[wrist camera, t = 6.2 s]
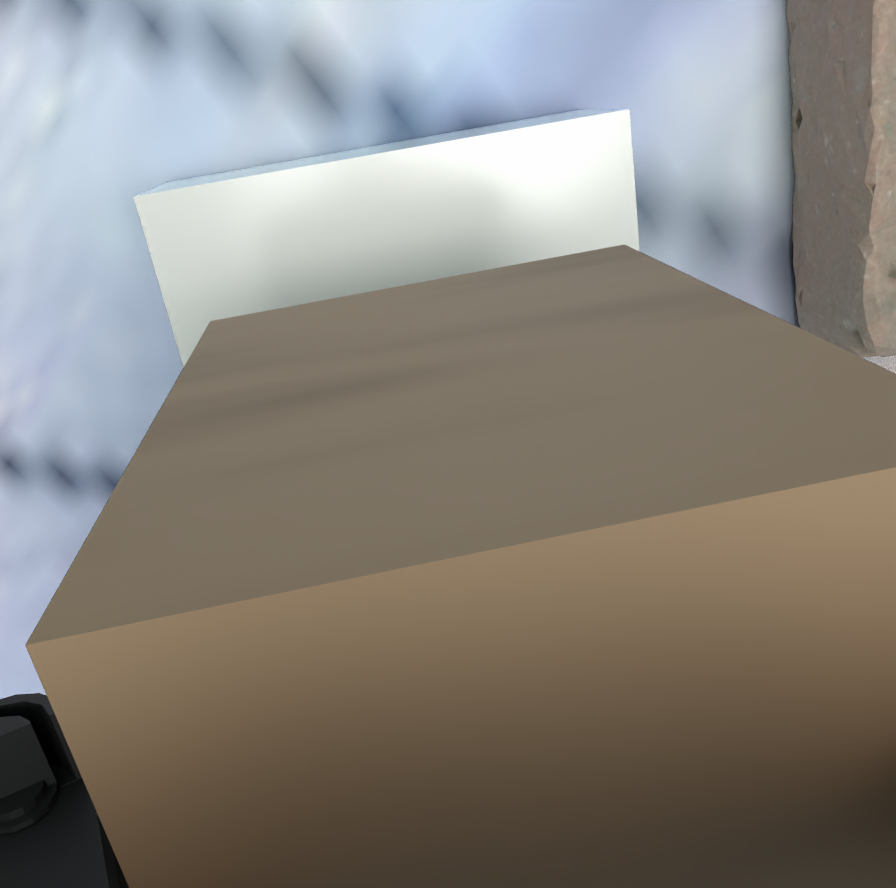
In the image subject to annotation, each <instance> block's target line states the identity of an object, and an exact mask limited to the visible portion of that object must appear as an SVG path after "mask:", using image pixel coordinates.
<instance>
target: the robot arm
mask: <svg viewBox="0 0 896 888" xmlns="http://www.w3.org/2000/svg"><path fill="white" fill-rule="evenodd" d="M0 888H129V886H128V884H127V881H126V879H125V877H124V874H123V872H122V870H121V867H120V865H119V863H118V860H117V858H116V856H115V853H114V851H113V849H112V846H111V844H110V842H109V839H108V837H107V835H106V832H105V830H104V828H103V825H102V823H101V821H100V818H99V816H98V814H97V811H96V809H95V807H94V804H93V802H92V800H91V797H90V795H89V793H88V790H87V788H86V786H85V783H84V781H83V779H82V776H81V774H80V772H79V769H78V767H77V765H76V762H75V760H74V758H73V755H72V753H71V751H70V748H69V746H68V744H67V741H66V739H65V737H64V734H63V732H62V730H61V727H60V725H59V723H58V720H57V718H56V716H55V713H54V711H53V709H52V706H51V704H50V702H49V699H48V697H47V696H46V695H43V694H40V693H36V694H20V695H14V696H10V697H7V698H3V699H0Z"/></svg>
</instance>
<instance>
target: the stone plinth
mask: <svg viewBox="0 0 896 888" xmlns="http://www.w3.org/2000/svg"><path fill="white" fill-rule="evenodd" d="M134 200H135V204H136V207H137V211H138V214H139V218H140V221H141V224H142V228H143V231H144V235H145V238H146V241H147V245H148V248H149V252H150V255H151V259H152V262H153V265H154V269H155V272H156V276H157V279H158V282H159V286H160V289H161V293H162V296H163V299H164V303H165V306H166V310H167V313H168V317H169V320H170V323H171V327H172V330H173V334H174V337H175V340H176V344H177V347H178V351H179V354H180V358H181V361H182V364H183V368H184V366H185V364H186V363H187V361H188V359H189V357H190V355H191V354H192V352H193V350H194V348H195V347H196V345H197V343H198V341H199V340H200V338H201V336H202V334H203V333H204V331H205V329H206V327H207V326H208V324H209V322H210V321H214V320H219V319H225V318H230V317H235V316H241V315H246V314H252V313H257V312H262V311H268V310H273V309H279V308H284V307H289V306H295V305H300V304H306V303H311V302H316V301H322V300H327V299H333V298H338V297H343V296H349V295H354V294H359V293H365V292H370V291H376V290H381V289H386V288H392V287H397V286H403V285H408V284H413V283H419V282H424V281H430V280H435V279H440V278H446V277H451V276H456V275H462V274H467V273H473V272H478V271H483V270H489V269H494V268H500V267H505V266H510V265H516V264H521V263H527V262H532V261H537V260H543V259H548V258H554V257H559V256H564V255H570V254H575V253H580V252H586V251H591V250H597V249H602V248H607V247H613V246H618V245H624V244H625V245H627V246H629V247H631V248H633V249H635V250H637V251H639V252H640V249H639V235H638V221H637V207H636V193H635V179H634V165H633V151H632V137H631V123H630V109H581V110H575V111H569V112H564V113H558V114H552V115H546V116H541V117H535V118H529V119H524V120H518V121H512V122H507V123H501V124H495V125H490V126H484V127H478V128H472V129H467V130H461V131H455V132H450V133H444V134H438V135H433V136H427V137H421V138H416V139H410V140H404V141H398V142H393V143H387V144H381V145H376V146H370V147H364V148H359V149H353V150H347V151H342V152H336V153H330V154H324V155H319V156H313V157H307V158H302V159H296V160H290V161H285V162H279V163H273V164H268V165H262V166H256V167H250V168H245V169H239V170H233V171H228V172H222V173H216V174H211V175H205V176H199V177H194V178H188V179H182V180H176V181H171V182H167V183H164V184H162V185H160V186H157V187H155V188H152V189H150V190H148V191H145V192H143V193H141V194H138V195H136V196H134Z"/></svg>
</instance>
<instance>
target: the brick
mask: <svg viewBox="0 0 896 888" xmlns="http://www.w3.org/2000/svg"><path fill="white" fill-rule="evenodd" d="M786 18H787V23H788V28H789V33H790V44H789V52H788V54H789V69H790V83H791V93H792V97H793V105H792V153H793V160H794V170H795V180H796V183H795V190H794V198H793V247H794V251H793V267H794V273H795V279H796V296H795V299H796V307H797V315H798V322H799V325H800V328H801V329H803V330H805V331H807V332H809V333H811V334H813V335H815V336H817V337H819V338H821V339H823V340H826V341H828V342H830V343H832V344H834V345H836V346H838V347H840V348H842V349H844V350H847V351H849V352H851V353H853V354H855V355H857V356H859V357H872V356H882V357H885V356H892V355H896V0H786Z"/></svg>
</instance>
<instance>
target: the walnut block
mask: <svg viewBox="0 0 896 888" xmlns="http://www.w3.org/2000/svg"><path fill="white" fill-rule="evenodd" d="M26 648H27V650H28V653H29V655H30V657H31V660H32V662H33V664H34V667H35V669H36V671H37V674H38V676H39V678H40V681H41V683H42V685H43V688H44V690H45V692H46V695H47V697H48V699H49V702H50V704H51V706H52V709H53V711H54V713H55V716H56V718H57V720H58V723H59V725H60V727H61V730H62V732H63V734H64V737H65V739H66V741H67V744H68V746H69V748H70V751H71V753H72V755H73V758H74V760H75V762H76V765H77V767H78V769H79V772H80V774H81V776H82V779H83V781H84V783H85V786H86V788H87V790H88V793H89V795H90V797H91V800H92V802H93V804H94V807H95V809H96V811H97V814H98V816H99V818H100V821H101V823H102V825H103V828H104V830H105V832H106V835H107V837H108V839H109V842H110V844H111V846H112V849H113V851H114V853H115V856H116V858H117V860H118V863H119V865H120V867H121V870H122V872H123V874H124V877H125V879H126V881H127V884H128V886H129V888H896V374H895V373H893V372H890V371H888V370H886V369H884V368H882V367H880V366H878V365H876V364H874V363H872V362H870V361H867V360H865V359H863V358H861V357H859V356H857V355H855V354H853V353H851V352H849V351H847V350H844V349H842V348H840V347H838V346H836V345H834V344H832V343H830V342H828V341H826V340H823V339H821V338H819V337H817V336H815V335H813V334H811V333H809V332H807V331H805V330H803V329H800V328H798V327H796V326H794V325H792V324H790V323H788V322H786V321H784V320H782V319H780V318H777V317H775V316H773V315H771V314H769V313H767V312H765V311H763V310H761V309H759V308H757V307H754V306H752V305H750V304H748V303H746V302H744V301H742V300H740V299H738V298H736V297H733V296H731V295H729V294H727V293H725V292H723V291H721V290H719V289H717V288H715V287H713V286H710V285H708V284H706V283H704V282H702V281H700V280H698V279H696V278H694V277H692V276H690V275H687V274H685V273H683V272H681V271H679V270H677V269H675V268H673V267H671V266H669V265H666V264H664V263H662V262H660V261H658V260H656V259H654V258H652V257H650V256H648V255H646V254H643V253H641V252H639V251H637V250H635V249H633V248H631V247H629V246H627V245H625V244H624V245H618V246H613V247H607V248H602V249H597V250H591V251H586V252H580V253H575V254H570V255H564V256H559V257H554V258H548V259H543V260H537V261H532V262H527V263H521V264H516V265H510V266H505V267H500V268H494V269H489V270H483V271H478V272H473V273H467V274H462V275H456V276H451V277H446V278H440V279H435V280H430V281H424V282H419V283H413V284H408V285H403V286H397V287H392V288H386V289H381V290H376V291H370V292H365V293H359V294H354V295H349V296H343V297H338V298H333V299H327V300H322V301H316V302H311V303H306V304H300V305H295V306H289V307H284V308H279V309H273V310H268V311H262V312H257V313H252V314H246V315H241V316H235V317H230V318H225V319H219V320H214V321H210V322H209V324H208V326H207V327H206V329H205V331H204V333H203V334H202V336H201V338H200V340H199V341H198V343H197V345H196V347H195V348H194V350H193V352H192V354H191V355H190V357H189V359H188V361H187V363H186V364H185V366H184V368H183V370H182V371H181V373H180V375H179V377H178V378H177V380H176V382H175V384H174V385H173V387H172V389H171V391H170V392H169V394H168V396H167V398H166V399H165V401H164V403H163V405H162V406H161V408H160V410H159V412H158V413H157V415H156V417H155V419H154V420H153V422H152V424H151V426H150V427H149V429H148V431H147V433H146V434H145V436H144V438H143V440H142V441H141V443H140V445H139V447H138V449H137V450H136V452H135V454H134V456H133V457H132V459H131V461H130V463H129V464H128V466H127V468H126V470H125V471H124V473H123V475H122V477H121V478H120V480H119V482H118V484H117V485H116V487H115V489H114V491H113V492H112V494H111V496H110V498H109V499H108V501H107V503H106V505H105V506H104V508H103V510H102V512H101V513H100V515H99V517H98V519H97V520H96V522H95V524H94V526H93V527H92V529H91V531H90V533H89V535H88V536H87V538H86V540H85V542H84V543H83V545H82V547H81V549H80V550H79V552H78V554H77V556H76V557H75V559H74V561H73V563H72V564H71V566H70V568H69V570H68V571H67V573H66V575H65V577H64V578H63V580H62V582H61V584H60V585H59V587H58V589H57V591H56V592H55V594H54V596H53V598H52V599H51V601H50V603H49V605H48V606H47V608H46V610H45V612H44V613H43V615H42V617H41V619H40V621H39V622H38V624H37V626H36V628H35V629H34V631H33V633H32V635H31V636H30V638H29V640H28V642H27V643H26Z"/></svg>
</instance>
